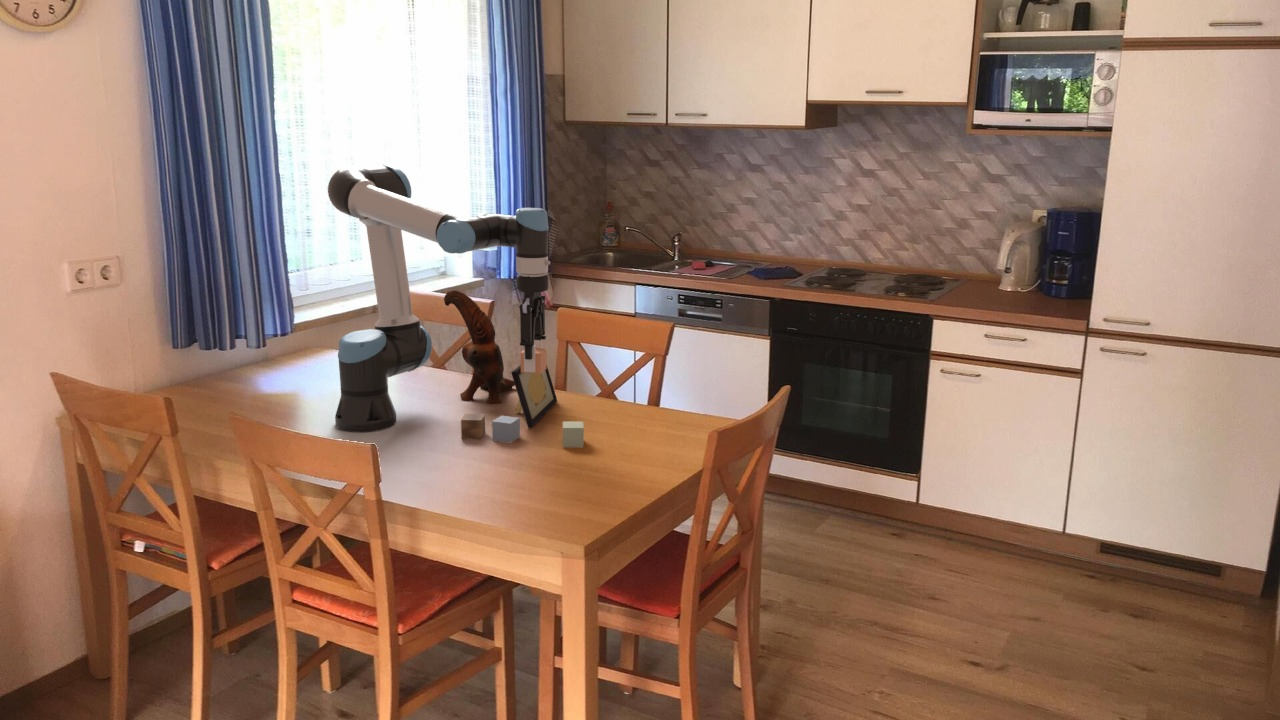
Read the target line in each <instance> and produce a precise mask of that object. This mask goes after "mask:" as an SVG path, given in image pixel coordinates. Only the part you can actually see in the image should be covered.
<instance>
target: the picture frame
mask: <svg viewBox="0 0 1280 720" xmlns="http://www.w3.org/2000/svg"><path fill="white" fill-rule="evenodd" d="M510 374H511V375H512V379H513V380H512V381H514V383H515V386H514V387H515V389H516V392H517V396H518V402H517V404H516V408H515V410H514V412H515V414H516V415H519V413H520V411H521V410H522V413H523V416H524V419H525V422H526V425H527V428H528V429H530V428H533V427H534V426H535V425H536V424H537V422H539V421H540V419H542V418H543V417H544V416H545V415H546V414H547V413H548V412H549V411H550V409H552V408H553V407H554V406H555V405H556V404H557V403H558V399H557V395H556V392H555V387H554V386H553V381H552V378H551V375H550V371H549V368H548V366H547V369H546V370H544V371H543V372H542V373H541V374H538V373H522V372H521V364H520V365H518V366H517V367H516V368H515V369H514V370H512V371H511V372H510Z"/></svg>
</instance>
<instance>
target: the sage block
mask: <svg viewBox="0 0 1280 720" xmlns="http://www.w3.org/2000/svg"><path fill="white" fill-rule="evenodd" d="M584 427H585V426H584V421H562V448H584V434H585V431H584V430H585V429H584Z"/></svg>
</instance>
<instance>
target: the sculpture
mask: <svg viewBox="0 0 1280 720" xmlns="http://www.w3.org/2000/svg"><path fill="white" fill-rule="evenodd" d="M443 301H444V305H445V306H446V307H449V306H450V305H451V304H452V305H454V306H455V307H456V309H457V311H458V312H459V313H460V315H461V317H462V319H463V321H464V323H465V325H466V327H467V330H468V334H469V336H470V339H471V341H468V342H466V343H464V345H463V346H462V349H461V355H462V358H463V361H464V362H465V363H466V364H468V365H469V366H470V367H471V368H472V369H473V372H472V373H473V374H472V376H471V380H470V383H469V384H468V386H467V388H466V389H465V390H464V391H462V392H461V393H460V394H459V395H460V399H462V400H463V401H464V402H465V401H466V402H472V401H474V397H475V396H474V395H475V394H476V392H477V390H478V389H479V388H480V389H482V390H488V397H487V400H486V404H490V405H499V404H501V403H502V400H501V392H503V391H507V390H512V389H513V387H515V383H514V380H512V379H509V378H506V377H504V371H505V367H504V361H503V360H504V359H503V355H502V351H501V349H500V346H499V345H498V344H497V343H496V341H495V340H496V339H495V338H496V330H495V326H494V325H493V322H492V320H491V319H490V318H489V316H488V315H487V314H486V313H485V312H484V310H482V309H481V308H480V306H479V305H478V303H477V302H476V301H474V300H473V299H472V298H471V297H469V296H468V295H467V294H466V293H464V292H463V291H459V290H450V291H447V292H446V294H445V295H444V297H443Z"/></svg>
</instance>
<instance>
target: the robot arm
mask: <svg viewBox="0 0 1280 720" xmlns="http://www.w3.org/2000/svg"><path fill="white" fill-rule="evenodd" d="M327 194H328V199H329V201H330V203H331V204H332V206H333V207H334V208H335V209H336V210H338V211H339V212H341V213H343V214H345V215H348V216H350V217H353V218H356V219H358V221H360V222H361V223H362V224H364V225H365V227H366V233H367V234H366V235H367V241H368V248H369V253H370V254H369V256H370V261H371V267H372V276H373V281H374V288H375V289H374V290H375V298H376V301H377V302H376V304H377V309H378V317H379V318H378V319H377V321H375V323H374V328H372V329H371V328H367V329H363V330H360V329H358V330H355V331H352V332H349V333H346V334H345V335H343V336H342V337H341V338H340V339H339V341H338V352H337V359H338V368H339V370H338V371H339V381H340V384H339V385H340V398H339V402H338V404H337V409H336V411H335V417H334V419H335V420H334V421H335V426H336V428H337V427H338V428H337V429H339V430H342V431H347V432H352V433H353V432H358V433H359V432H360V433H362V432H376V431H380V430H381V431H382V430H385V429H388V428H390V427H392V426H394V425H395V424H396V423H397V411H396V409H395V407H394V404H393V401H392V399H391V396H390V394H389V383H388V382H389V381H388V378H391V377H395V376H397V375H400V374H404V373H406V372H412V371H415V370H417V369H418V368H421V367H422V366H424V365H425V364H426V363H427V361H428V360H429V358H430V357H431V354H432V350H433V344H432V343H433V342H432V337H431V335H430V333H429V332H427V328H425V327H424V326H422V325H421V322H420V318H419V317H417V316H416V315H414V313H413V306H412V300H411V299H412V298H411V292H410V284H409V278H408V271H407V270H408V269H407V265H406V264H407V262H406V255H405V254H406V253H405V249H404V241H403V234H402V232H403V231H404V232H406V233H409V234H412V235H415V236H418V237H421V238H423V239H427V240H428V241H432V242H435V243H437V244H438V245H439V247H440V248H441V249H442V250H443V251H444V252H445V253H448V254H464V253H468V252H472V251H478V250H483V249H484V250H485V249H489V248H490V249H491V248H495V247H506V248H515V253H516V255H515V261H516V263H515V264H516V266H515V267H516V268H515V269H516V270H515V271H516V273H517V275H516V290H517V291H518V292H522V293H523V294H524V295H523V299H522V301H521V302H522V304H521V303H519V313H520V316H519V319H520V323H519V324H520V325H519V326H520V329H519V330H520V342H519V346H521V347H522V346H523V350H524V372H536V348H543V340H544V341H545V340H546V339H547V336H546V323H545V321H546V313H545V312H546V311H545V310H546V309H545V307H546V295H542V293H543V292H547V291H548V290H549V275H548V272H549V266H550V265H551V261H550V260H549V229H550V227H549V221H548V218H549V217H548V212H547V210H546V209H544V208H540V207H521V208H518V209H516V210H515V214H514V215H509V214H507V215H506V214H499V213H493V212H489V213H487V212H486V213H482V212H481V213H479V214H477V215H476V216H473V217H462V216H459V215H457V214H453V213H451V212H448V211H445V210H443V209H440V208H437V207H434V206H431V205H428V204H425V203H423V202H420V201H416V200H414V199H412V198H411V197H412V187H411V183H410V180H409V178H408V177H407V175H406V173H404V171H402V170H401V169H400V168H399V167H397V166H396V165H393V164H382V163H378V164H368V165H367V164H365V165H352V166H351V165H349V166H344V167H342V168H340V169H338V170H337V171H335V172H334V174H333V175H332V176H331V178H330V179H329V181H328V185H327Z"/></svg>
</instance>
